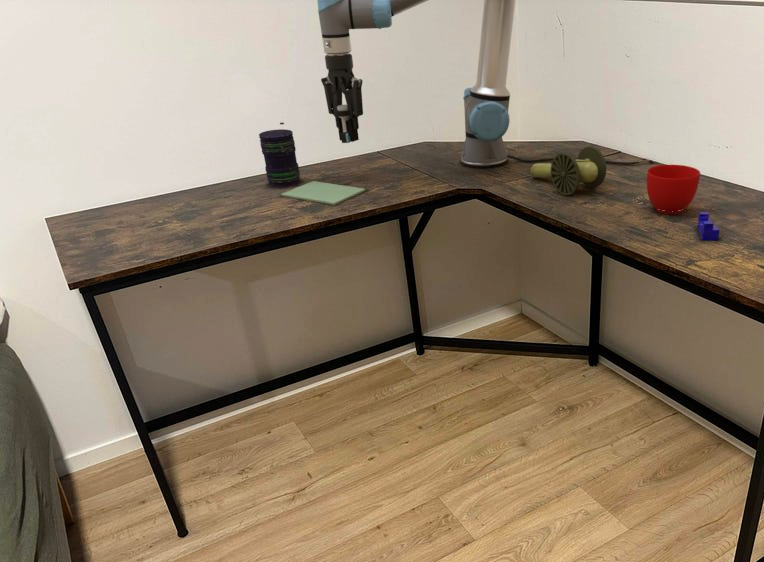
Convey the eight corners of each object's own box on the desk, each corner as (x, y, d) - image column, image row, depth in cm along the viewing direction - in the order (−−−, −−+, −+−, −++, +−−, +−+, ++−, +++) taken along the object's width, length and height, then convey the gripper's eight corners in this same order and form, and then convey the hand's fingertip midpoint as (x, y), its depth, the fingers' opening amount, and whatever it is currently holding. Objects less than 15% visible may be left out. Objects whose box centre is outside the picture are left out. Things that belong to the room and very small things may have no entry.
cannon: (519, 181, 200) (519, 142, 194) (549, 173, 206) (550, 135, 200) (578, 200, 183) (580, 158, 177) (609, 191, 189) (612, 150, 183)
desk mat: (365, 190, 197) (365, 188, 197) (334, 205, 187) (334, 203, 186) (313, 182, 206) (313, 180, 205) (281, 195, 195) (280, 193, 195)
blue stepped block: (717, 240, 156) (720, 223, 154) (702, 240, 156) (704, 223, 154) (712, 228, 162) (714, 212, 160) (697, 228, 163) (699, 212, 161)
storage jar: (261, 186, 204) (249, 125, 195) (281, 177, 212) (270, 118, 202) (288, 189, 201) (277, 127, 191) (307, 180, 208) (297, 119, 199)
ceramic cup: (701, 200, 180) (707, 163, 175) (690, 221, 167) (695, 181, 162) (653, 195, 185) (656, 158, 180) (638, 215, 172) (641, 176, 167)
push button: (345, 138, 203) (339, 103, 198) (361, 137, 202) (356, 102, 197) (336, 143, 197) (331, 107, 192) (354, 143, 196) (348, 107, 191)
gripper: (306, 54, 188) (319, 140, 200) (352, 56, 181) (363, 145, 193) (324, 51, 194) (336, 134, 206) (370, 53, 186) (379, 139, 198)
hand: (349, 139), depth 199 cm, fingers closed on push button, 3 cm apart
